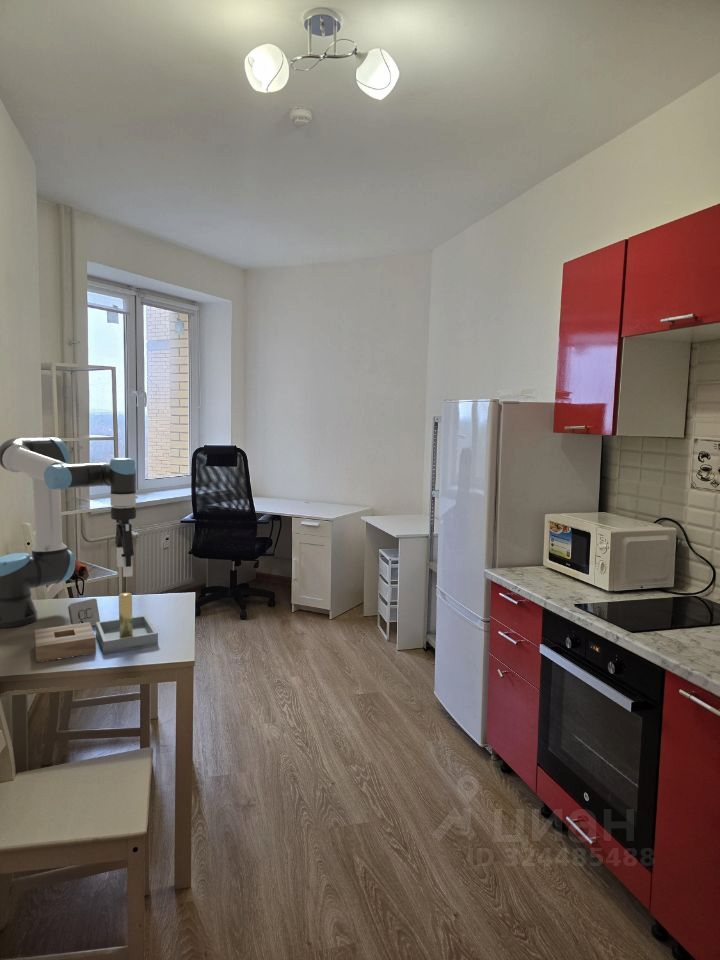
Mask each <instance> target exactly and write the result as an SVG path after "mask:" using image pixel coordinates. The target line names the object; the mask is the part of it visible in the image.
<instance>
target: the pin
mask: <svg viewBox="0 0 720 960" xmlns="http://www.w3.org/2000/svg"><path fill="white" fill-rule="evenodd" d="M132 617H133V594H132V593H131V592H122V593H119V594H118V619H119V632H120V638H123V637H130V636H133V622H132Z"/></svg>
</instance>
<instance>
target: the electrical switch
mask: <svg viewBox="0 0 720 960" xmlns="http://www.w3.org/2000/svg"><path fill="white" fill-rule="evenodd" d="M67 611H68V615H69V622H70V625H73V624H80V623H87V622H90V624H91V626H92V627H96V622H101V617H100V612H99V607H98V601H97V598H88V599H85V600H80V601H75V602H72V603H69V604H68V607H67Z"/></svg>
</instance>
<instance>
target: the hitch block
mask: <svg viewBox="0 0 720 960" xmlns="http://www.w3.org/2000/svg"><path fill="white" fill-rule="evenodd" d="M96 637H97V636H96V633H95V631H94V630H93V626H91V624H90V622H87V623H81V622H80V624H73V625H71V624H68V625H60V626H53V627H52V626H51V627H46V628H38V629H34V647H35V649H34V650H35V658H36V660H35V661H36V663H37V662H40V663H43V662H42V661H46V662H48V661H47V660H52V661H55V660H54V659H58V658H64V659H67V658H66V657H71V658H73V657H72V656H77V657H79V656H78V655H83V656H86V655H85V654H89V655H93V654H92V653H95V654H97V643H96V641H97V640H96V639H97V638H96ZM58 660H59V659H58Z"/></svg>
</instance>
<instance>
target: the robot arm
mask: <svg viewBox="0 0 720 960" xmlns="http://www.w3.org/2000/svg"><path fill="white" fill-rule="evenodd" d="M0 466H1V467H2V468H3V469H4V470H7V471H9V472H11V473H23V474H25V475H27V476H28V477H29V478H30V479H31V480H32V491H33V492H32V493H33V494H32V495H33V508H34V509H33V510H34V513H33V514H34V526H35V527H34V529H35V546H33V547H32V548H31V555H30V554H29V553H27V552H17V553H10V554H9V553H8V554H6V555H3V556H0V629H7V628H16V627H21V626H25V625H28V624H31V623H33V622H35V621H37V620H38V618H39V616H38V610H37V607H36V605H35V603H34V600H33V598H32V589H35V588H38V587H44V586H49V585H56V584H60V583H62V582H66V581H68V580H69V579H70V578H71V577H72V576H73V574H74V571H75V568H76V560H75V559H76V558H75V557H74V553H73V552H72V551H71V550H69V549H68V546H67V544H65V543H64V542H63V532H62V531H63V529H62V526H63V525H62V511H61V491H62V490H66V489H77V488H90V487H91V488H92V487H103V486H104V487H110V495H109V496H110V506H112V507H111V508H110V518H111V519H112V520H115V522H116V528H115V529H116V531H115V540H114V543H115V546H116V549H115V550H116V568H122V576H123V578H129V577H133V576H134V575H133V574H134V573H133V571H134V569H133V568H134V567H133V556H134V554H135V553H134V543H133V542H134V541H133V532H132V526H133V525H132V523H130V520H134V519H136V518H137V507H136V505H137V500H136V499H138V495H137V494H136V491H137V470H136V469H137V468H136V462H135V459H133V458H129V457H113V458H111V459H110V461H109V462H105V461H95V462H92V463H90V462H89V463H70V452H69V449H68V446H67V445H66V443H65V442H64V441H63V440H62V439H60V438H58V437H49V436H45V437H44V436H42V437H13V438H10V439H7V440H6V441H4V442H3V443H2V444H1V445H0ZM60 490H61V491H60Z"/></svg>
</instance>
